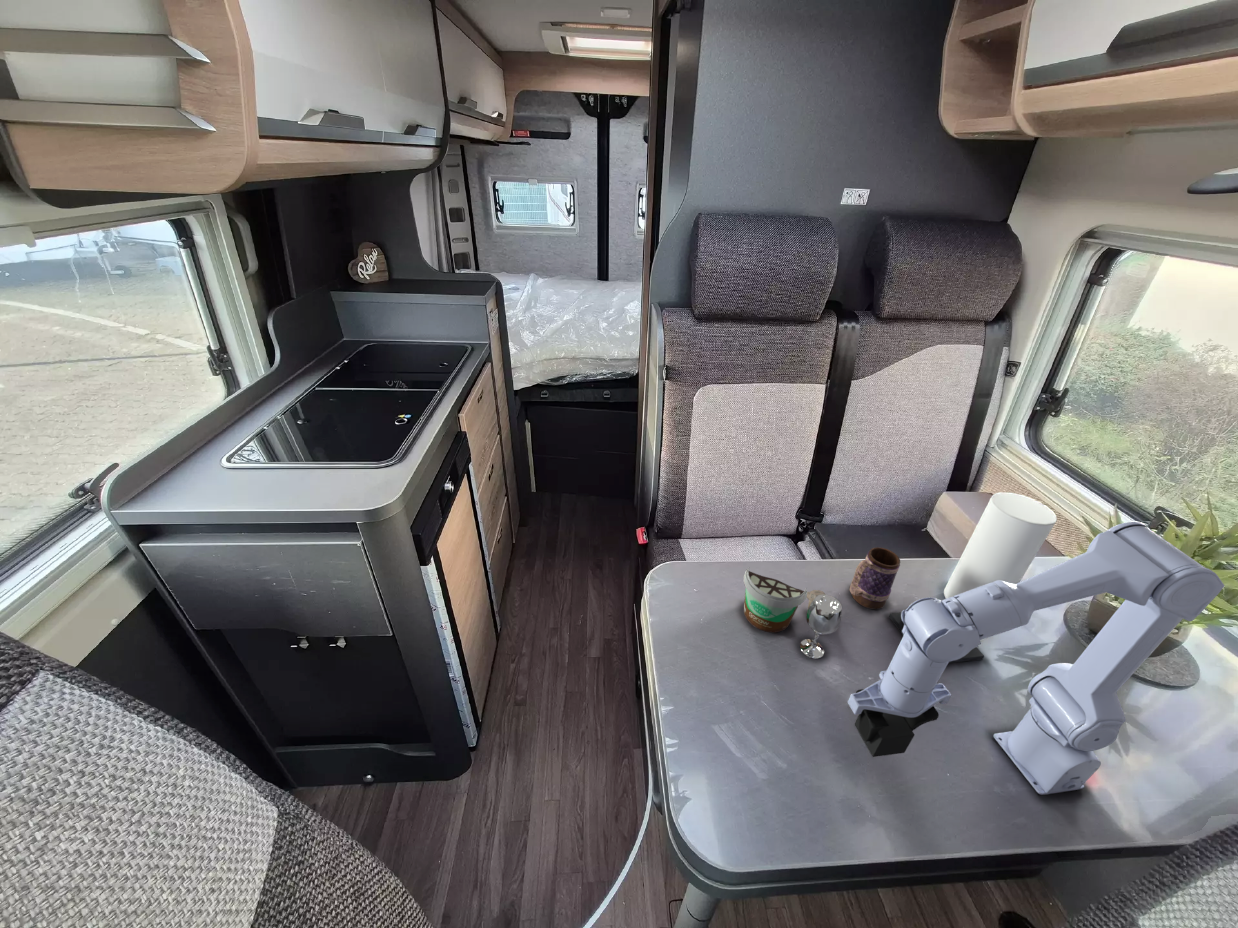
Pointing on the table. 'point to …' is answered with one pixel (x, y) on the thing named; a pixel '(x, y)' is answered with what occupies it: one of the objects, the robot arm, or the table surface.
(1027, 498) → the tall pillar cylinder
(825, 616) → the wineglass
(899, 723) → the black block
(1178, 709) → the table surface
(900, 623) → the base pad
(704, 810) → the table surface
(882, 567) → the mug
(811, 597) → the toy character
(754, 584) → the food container
